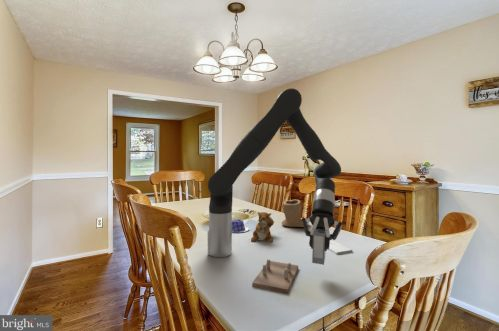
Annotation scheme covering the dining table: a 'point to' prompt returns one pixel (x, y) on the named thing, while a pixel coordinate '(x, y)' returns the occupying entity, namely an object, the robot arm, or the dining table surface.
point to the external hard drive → (338, 248)
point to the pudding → (238, 226)
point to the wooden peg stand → (276, 276)
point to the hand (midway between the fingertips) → (318, 248)
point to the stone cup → (292, 213)
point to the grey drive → (319, 246)
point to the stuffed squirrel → (263, 228)
